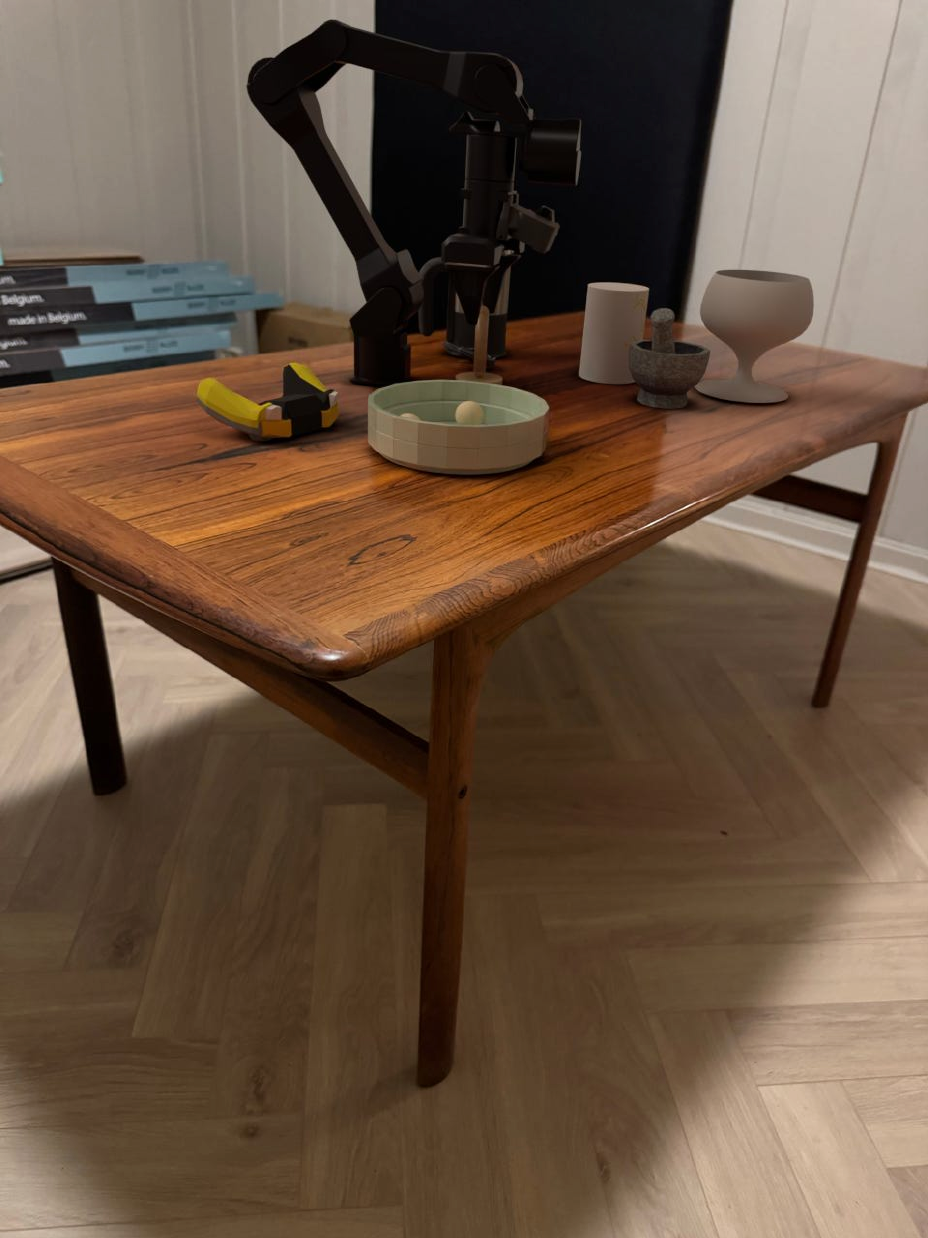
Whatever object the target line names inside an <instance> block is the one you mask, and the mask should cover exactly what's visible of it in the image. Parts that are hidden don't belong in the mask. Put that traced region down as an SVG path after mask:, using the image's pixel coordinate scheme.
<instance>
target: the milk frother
mask: <svg viewBox="0 0 928 1238" xmlns="http://www.w3.org/2000/svg"><path fill="white" fill-rule="evenodd" d="M514 253H515V251H513V250H510V254H513V255H514ZM445 263H448V262H443V261H441V256H438V257H433V258H431V259H430V260H428V261H427V262H425V263H424V264H423V265H422V267H421V268H420V270H419V271H418V273H419V274H421V275H422V276H423V277H424V279H423V280H421V281H420V282H421V284H422V287H423V291H424V296H423V301H422V305H421V307H420V308H419V310H418V311H417V312H418V330H419V333H420V334H421V335H422V336H424V337H426V338H427V337H428V338H430V337H431V336H433V333H434V283H435V282H434V281H435V279H436V278H437V276H438V275H439V274H442V273H448V270H447V269H445ZM511 267H512V265H511V266H510V267H509V268H508V270H507V272H506V275H505V278H504V281H503V285H502V288H501V292H500V295H499V298H498V302H497V305H496V309H495V312H494V313H493V314H489V323H488V340H487V358H486V365H490V366H495V364H496V359H497V358H502V357H505V356H506V355H507V354H508V351H507V350H506V344H507V343H506V342H507V321H508V307H509V296H510V295H509V294H510V282H511V281H510V280H511V269H512V268H511ZM447 290H448V291H447V309H446V328H445V329H446V330H445V340H443V342H442V343H441V346H443V347H444V348H445V351H446V352H447V353H448V354H450V355H452V356H457V357H460V358H464V359H466V360H467V361H468V362H469V363H471V364H473V365H474V346H475V326H476V325H469V324H468V323H467V320H466V317H465V314H464V312H463V309H462V306H461V303H460V301H459V298H458V295H457V293H456V290H455V288H454V285H453V283H452V280H451V278H450V275H449V274H448V288H447ZM482 306H484V305H483V301H482Z"/></svg>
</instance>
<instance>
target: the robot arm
mask: <svg viewBox="0 0 928 1238" xmlns="http://www.w3.org/2000/svg"><path fill="white" fill-rule="evenodd" d="M346 65H352V66H356V67H360V68H364V69H367V70H371V71H375V72H378V73H381V74H386V75H388V76H393V77H396V78H401V79H403V80H407V81H412V82H415V83H418V84H421V85H425V86H429V87H433V88H435V89H437V90H439V91H441V92H443V93H445V94H447V95H449V96H451V97H452V98H455V99H456V100H458V101H460V102H462V103H464V104H466V105H469V106H470V107H472V108H474V109H475V110H478V111H480V112H482V113H487V114H490V115H498V116H501V117H502V118H503V119H504V120H505V121H506V122H508V124H510V125H514V126H520V127H521V126H523V127H525V132H517V131H515V132H514V131H501V127H500V122H499V121H498V120H495V119H477V118H475V119H474V117H473V115H472V114H471V112H469V111H467V110H465V111H463V112H462V114H461V116H460V118H459V119H458V120H457V121H456V122H455V123H454V124H453V125H451V126H450V127H449V133H450V134H452V135H465V136H466V152H465V153H466V154H465V173H464V176H465V177H464V188H460V189H459V199H460V200H461V199H462V200H463V216H462V226H459V227H458V232H457V233H455V234H451V235H448V237H447V238H446V239H445V240H443V242H442V243H441V246H440V247H441V248H440V249H441V251H440V257H441V261H443V262H448V263H445V269H447V270H448V272H447V273H448V276H449V275H450V278H451V280H452V283H453V285H454V288H455V290H456V293H457V295H458V298H459V301H460V303H461V306H462V309H463V312H464V314H465V317H466V320H467V323H468V324H469V325H477V323H478V319H479V315H480V310H481V306H482V301H483V305H484V306H486V307H487V308H488V310H489V314H493V313H494V312H495V309H496V305H497V302H498V298H499V295H500V292H501V288H502V285H503V281H504V278H505V275H506V272H507V270H508V268H509V267H510V266H511V267H512V266H513V265H514V264H515V263H516V262H517V261H519V260H520V259H521V257H522V255H520V254H522V253H524V252H525V245H527V246H529V247H531V249H532V250H533V251H534V252H537V253H539V254H543V255H544V254H546V253H547V252H550V250H551V247H552V246H553V243H554V241H555V239H556V236H557V235H558V231H559V229H560V227H561V226H560V224H559V223H558V222H556V221H555V210H554V209H552V208H550V207H548V206H546V205H541V206H540V207H539V208H538V209H536V210H535V211H533V210H532V209H530V208H529V209H528V208H526V207H524V206H521V205H519V199H520V194H519V193H518V190H514V185H515V182H514V181H515V172H516V171H515V170H516V154H517V140H518V139H520V146H519V157H518V158H519V160H518V167H519V173H523V174H527V182H528V184H530V183H531V184H542V185H543V184H547V185H559V186H560V185H561V186H577V185H578V181H579V173H580V167H581V166H580V165H581V160H582V159H581V158H582V150H580V149H581V128H582V120H581V118H574V117H571V118H570V117H568V118H563V119H556V118H555V119H553V118H536V117H535V115H534V109H532V108H530V106H529V104H528V102H527V101H526V98H525V97H524V94H523V89H524V82H523V76H522V74H521V72H520V69H519V68H518V66H517V65H516V64H515V63H514V62H513V61H512V60H510V59H509V58H508V57H506V56H503V55H501V54H499V53H497V52H483V51H468V50H467V51H466V50H465V51H463V50H462V51H461V50H460V51H459V50H458V51H457V50H453V51H452V50H439V49H437V48H432V47H429V46H424V45H420V44H418V43H413V42H409V41H405V40H401V39H399V38H395V37H392V36H387V35H384V34H381V33H376V32H372V31H369V30H365V29H362V28H358V27H355V26H351V25H349V24H347V23H345V22H343V21H340V20H338V19H333V18H332V19H327V20H325V21H323V22H322V23H321V24H320V25H319V26H318V27H317V28H315V29H314V30H313V31H312V32H311V33H309V34H307V35H306V36H304V37H303V38H301V39H299V40H298V41H296V42H294V43H293V44H291V45H289V46H287V47H286V48H284V49H282V51H280V52H279V53H278V54H277V55H275V56H274V57H272V56H271V57H262V58H260V59H259V60H256V61H255V63H253V65H252V66H251V68H250V70H249V72H248V74H247V81H246V86H245V87H246V92H247V95H248V98H249V100H250V102H251V103H252V105H253V106H254V108H255V109H256V110H257V111H258V113H259V114H260V115H261V116H262V117H263V119H264V120H265V122H266V123H267V124H268V125H269V127H271V129H272V130H273V131H274V132H276V134H277V135H278V136H279V137H280V138H281V139H282V140H283V141H284V142H285V143H286V144H287V145H288V146H289V147H290V148H291V149H292V150H293V153H294V154H295V155H296V158H297V159H298V161H299V163H300V165H301V166H302V168H303V170H304V172H305V173H306V175H307V177H308V178H309V180H310V182H311V184H312V186H313V188H314V189H315V191H316V193H317V195H318V197H319V198H320V200H321V202H322V204H323V205H324V207H325V209H326V211H327V213H328V215H329V216H330V218H331V219H332V222H333V223H334V226H335V227H336V229H337V230H338V233H339V234H340V236H341V238H342V239H343V241H344V243H345V245H346V246H347V249H348V250H349V252H350V254H351V255H352V258H353V259H354V263H355V266H356V271H357V276H358V281H359V286H360V289H361V291H362V294H363V297H364V299H365V303H364V304H363V305H362V307H360V308H359V309H358V310H357V311H356V312H355V313H354V314H353V315H352V316H351V317H350V318H349V326H350V327H351V331H352V333H353V376H350V377H348V381H349V383H353V384H361V385H370V386H379V387H386V386H390V385H393V384H398V383H406V381H408V380H409V379H411V378H412V376H411V375H412V374H411V371H412V369H411V367H412V366H411V365H412V345H411V344H409V343H408V332H407V331H402V330H404V329H405V328H406V327H407V325H408V322H409V320H410V318H411V317H412V316H414V315H415V314H416V313H417V312H418V310H419V308H420V307H421V305H422V301H423V296H424V291H423V287H422V284H421V282H420V281H421V280H423V279H424V277H423V276H422V275H421V274H419V270H418V269H417V268H416V266H415V264H414V262H413V259H412V256H411V253H410V251H409V250H408V249H407V248H405V249H403V250H401V251H398V252H396V251H395V250H394V249H393V248H392V247H391V246H390V245H389V244H388V243H387V241H386V240H385V239H384V236H383V235H382V233H381V231H380V229H379V228H378V225H377V224H376V222H375V220H374V218H373V217H372V214H371V212H370V211H369V209H368V207H367V206H366V204H365V202H364V200H363V198H362V196H361V195H360V192H359V191H358V189H357V187H356V185H355V184H354V182H353V180H352V178H351V176H350V174H349V172H348V171H347V169H346V167H345V165H344V163H343V161H342V160H341V158H340V156H339V154H338V152H337V150H336V149H335V147H334V145H333V143H332V141H331V139H330V138H329V136H328V134H327V132H326V128H325V124H324V123H325V122H324V118H323V114H322V108H321V104H320V102H319V99H318V96H317V92H319V91H320V90H321V89H323V88H324V87H325V86H326V85H327V84H328V83H329V82H330V81H331V80H332V79H333V78H334V76H335V75H336V74H338V72H340V70H341V69H343V68H344V67H345V66H346ZM510 250H512V251H514V252H515V254H514V253H513V254H510Z"/></svg>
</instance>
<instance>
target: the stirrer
mask: <svg viewBox="0 0 928 1238" xmlns="http://www.w3.org/2000/svg"><path fill="white" fill-rule="evenodd" d="M488 323H489V310H488V308H487V307H486V306H481V310H480V315H479V319H478V323H477V325H476V326H475V346H474V364H473V365H472V366H473V367H472V368H473V369H472V371H467V372H460V373H458V374H456V375H455V380H461V381H474V382H483V383H492V384H498V385H503V377H502V376H500V375H499V374H496V373H491V372H487V364H486V358H487V340H488Z"/></svg>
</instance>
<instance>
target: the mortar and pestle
mask: <svg viewBox="0 0 928 1238" xmlns="http://www.w3.org/2000/svg"><path fill="white" fill-rule="evenodd" d="M649 318H650V319H649V321H650V323H651V324H652V328H651V329H652V330H651V334H652V335H651V339H643V340H638V341H635V342H633V343H631V344H630V346H629V354H628V357H629V369H630V372H631V375H632V377H633V379H634V381H635V382H634V383H636V384H637V386H638V387H639V388H640V389H639V391H638V393H637V398H636V401H637V402H638V403H639V404H641V405H644V406H647V407H651V408H656V409H667V410H673V409H682V408H684V407H685V406H687V405H688V392H689V391H690V390H692V389H693V388H695V385H697V384H698V383H699V382H701V379H703V377H704V375H705V373H706V371H707V367H708V365H709V362H710V355H711V350H710V349H709V348H707V347H705V346H703V345H701V344H696V343H691V342H687V341H682V340H675V332H674V321H675V319H676V316H675V313H674V311H673V310H672V309H670V308H667V307H664V308H663V307H662V308H661V307H660V308H657V309H655V310H654V311H652V312H651V315H650V316H649Z"/></svg>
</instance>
